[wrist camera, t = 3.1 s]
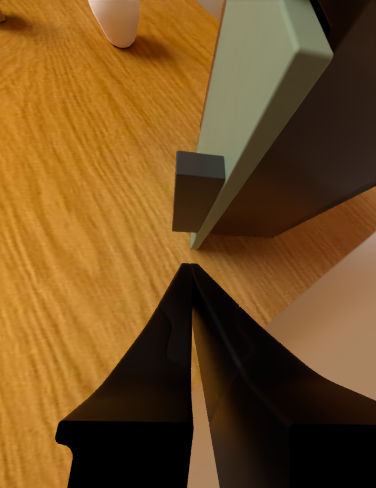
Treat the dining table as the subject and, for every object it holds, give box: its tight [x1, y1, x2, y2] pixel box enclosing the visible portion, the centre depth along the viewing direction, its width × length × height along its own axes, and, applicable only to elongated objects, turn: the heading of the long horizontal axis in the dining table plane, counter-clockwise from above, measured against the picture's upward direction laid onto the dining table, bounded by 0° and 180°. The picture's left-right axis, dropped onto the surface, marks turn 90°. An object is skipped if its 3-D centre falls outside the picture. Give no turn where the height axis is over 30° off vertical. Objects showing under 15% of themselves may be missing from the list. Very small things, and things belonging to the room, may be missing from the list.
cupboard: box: [200, 0, 376, 238], centre depth 12 cm, size 16×10×16 cm, turn 179°
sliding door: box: [172, 0, 333, 249], centre depth 11 cm, size 9×3×14 cm, turn 179°
